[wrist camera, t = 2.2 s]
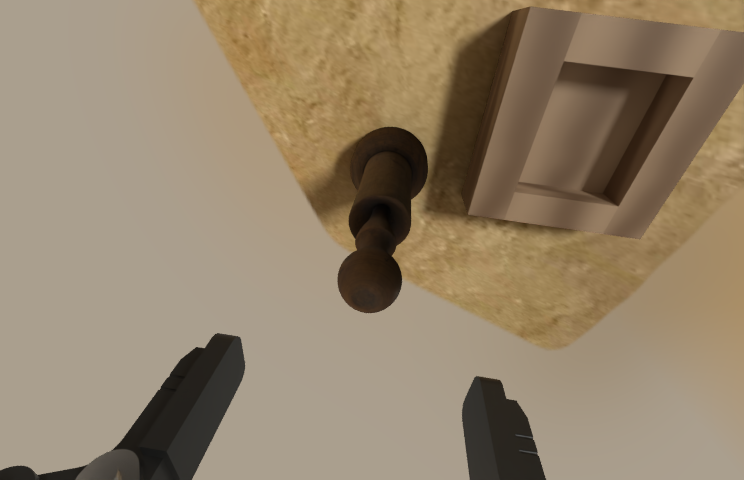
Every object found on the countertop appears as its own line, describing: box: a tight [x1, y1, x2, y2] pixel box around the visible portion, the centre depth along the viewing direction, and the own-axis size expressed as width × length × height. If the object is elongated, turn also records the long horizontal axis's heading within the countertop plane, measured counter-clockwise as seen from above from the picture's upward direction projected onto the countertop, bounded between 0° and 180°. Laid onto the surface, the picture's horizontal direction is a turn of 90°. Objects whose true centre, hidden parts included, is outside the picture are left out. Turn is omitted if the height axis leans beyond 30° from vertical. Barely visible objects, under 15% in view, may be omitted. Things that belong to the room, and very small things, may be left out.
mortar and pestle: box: [338, 127, 428, 313], centre depth 22 cm, size 7×6×18 cm
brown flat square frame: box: [462, 7, 744, 239], centre depth 24 cm, size 14×14×4 cm
